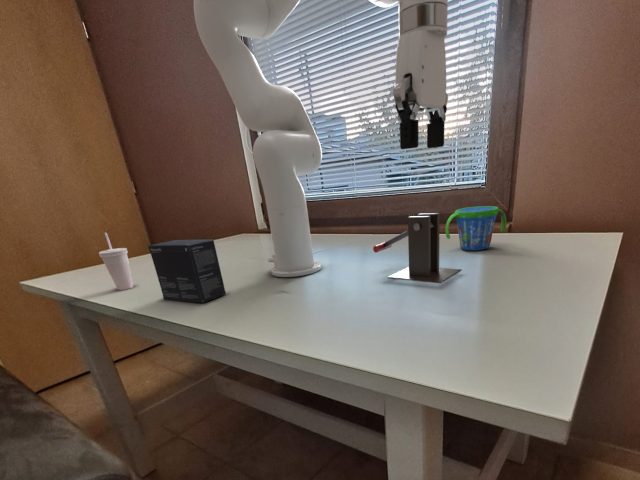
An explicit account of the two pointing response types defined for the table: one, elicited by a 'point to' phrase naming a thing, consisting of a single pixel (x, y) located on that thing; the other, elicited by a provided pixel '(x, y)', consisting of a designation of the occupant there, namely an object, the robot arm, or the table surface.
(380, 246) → the tap lever
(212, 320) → the table surface
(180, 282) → the small box
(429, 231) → the bracket
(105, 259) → the smoothie
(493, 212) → the snack cup
